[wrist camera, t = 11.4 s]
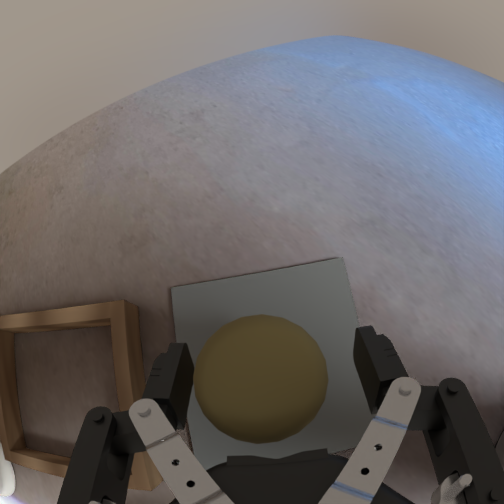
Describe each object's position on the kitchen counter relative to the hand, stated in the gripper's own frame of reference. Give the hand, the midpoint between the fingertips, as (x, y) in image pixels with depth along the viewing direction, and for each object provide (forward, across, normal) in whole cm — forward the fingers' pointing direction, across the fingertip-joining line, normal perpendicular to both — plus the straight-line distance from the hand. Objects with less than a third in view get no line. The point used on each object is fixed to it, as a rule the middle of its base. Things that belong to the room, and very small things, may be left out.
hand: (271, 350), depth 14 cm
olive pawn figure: (+4, 0, +6) cm, 7 cm away
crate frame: (+3, +18, +8) cm, 19 cm away
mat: (+4, 0, +6) cm, 7 cm away
